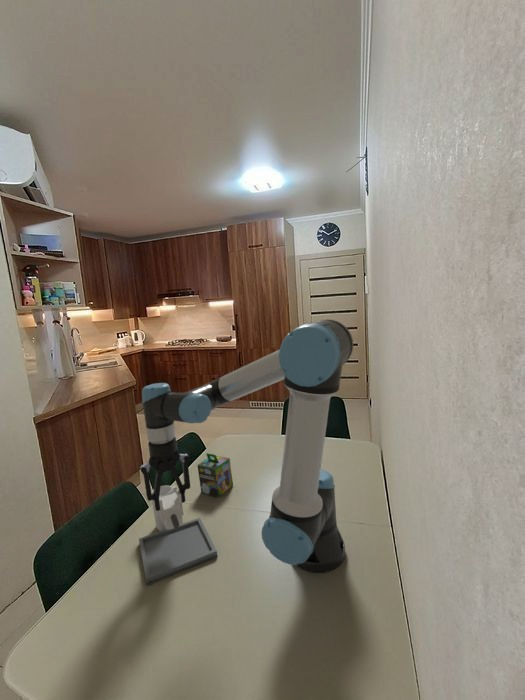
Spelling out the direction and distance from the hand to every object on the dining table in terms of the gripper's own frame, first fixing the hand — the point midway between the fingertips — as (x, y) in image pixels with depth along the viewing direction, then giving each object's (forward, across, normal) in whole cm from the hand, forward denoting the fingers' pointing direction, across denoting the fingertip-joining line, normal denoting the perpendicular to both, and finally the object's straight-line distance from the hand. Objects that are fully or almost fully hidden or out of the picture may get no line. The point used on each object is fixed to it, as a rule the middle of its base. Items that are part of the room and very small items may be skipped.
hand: (172, 515), depth 100 cm
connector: (+2, 0, 0) cm, 2 cm away
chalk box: (+11, -21, -26) cm, 35 cm away
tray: (+11, 0, 0) cm, 11 cm away
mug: (+11, -1, -15) cm, 18 cm away
